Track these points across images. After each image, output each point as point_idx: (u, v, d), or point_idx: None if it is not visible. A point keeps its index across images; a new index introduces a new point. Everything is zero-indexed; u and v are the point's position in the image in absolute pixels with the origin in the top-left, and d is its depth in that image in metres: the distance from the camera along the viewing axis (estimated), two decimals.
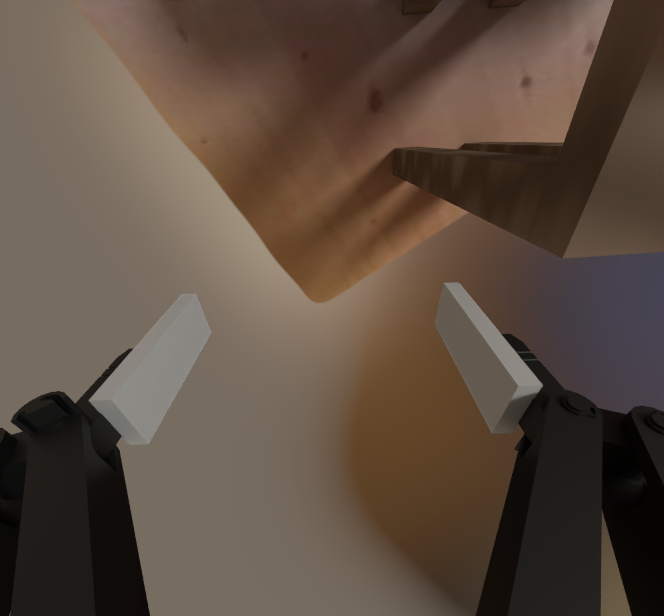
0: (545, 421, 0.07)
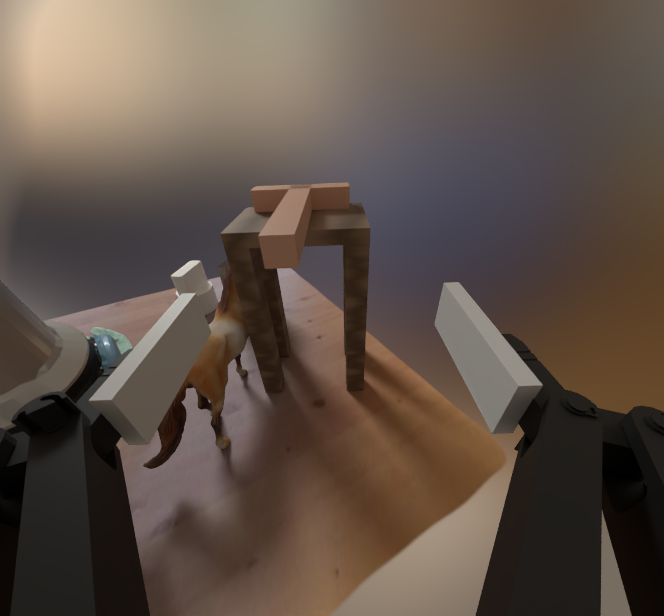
0: (545, 421, 0.07)
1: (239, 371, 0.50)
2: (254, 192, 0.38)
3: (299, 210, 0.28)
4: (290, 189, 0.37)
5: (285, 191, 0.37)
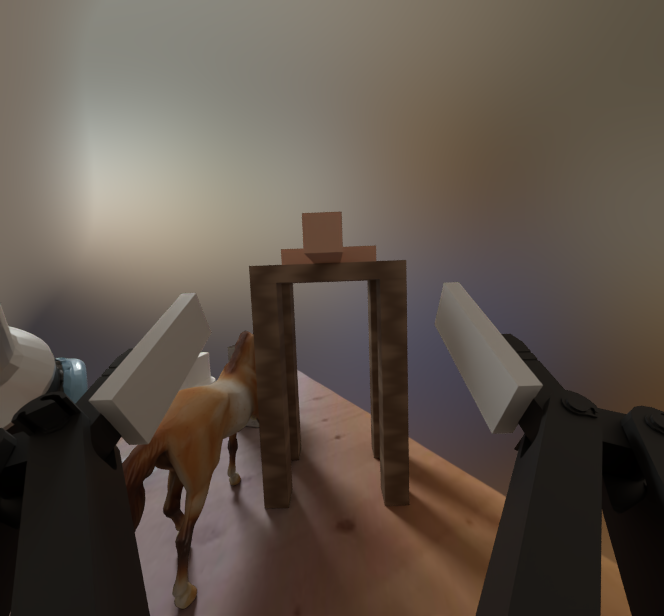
0: (545, 421, 0.07)
1: (231, 473, 0.36)
2: (284, 251, 0.39)
3: None
4: None
5: None
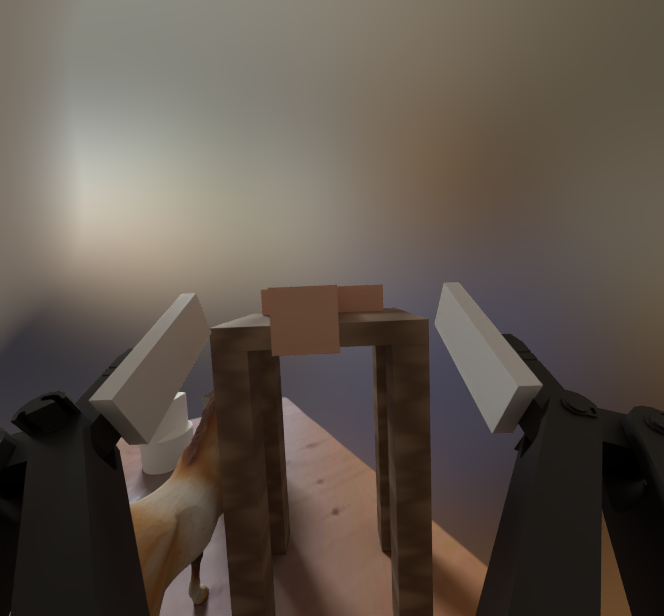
0: (545, 421, 0.07)
1: (193, 593, 0.27)
2: (265, 292, 0.30)
3: None
4: None
5: None
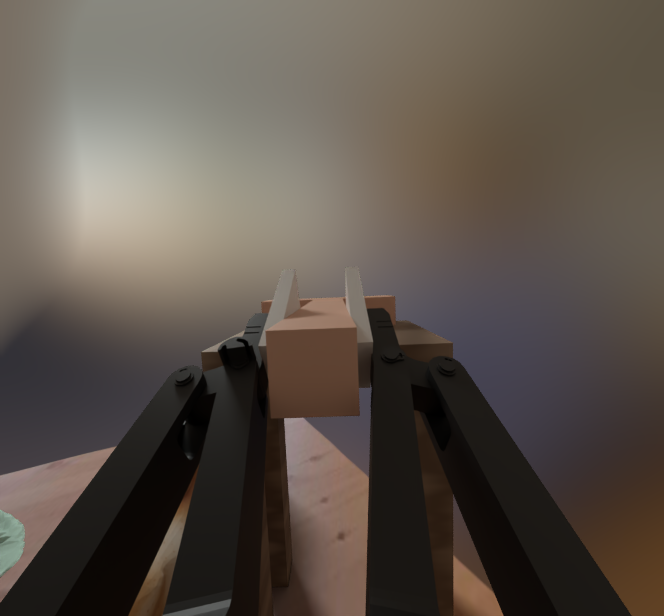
0: (373, 378, 0.09)
1: None
2: (266, 304, 0.28)
3: (341, 308, 0.16)
4: None
5: (308, 302, 0.28)
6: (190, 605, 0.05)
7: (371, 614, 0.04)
